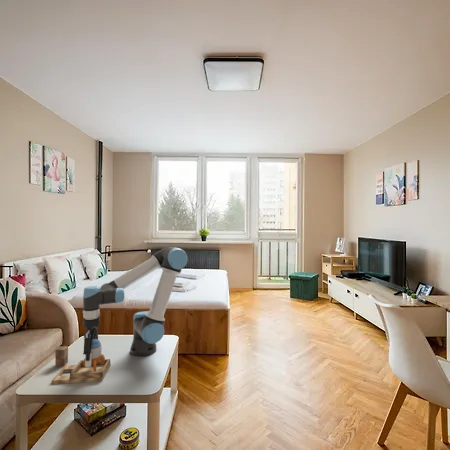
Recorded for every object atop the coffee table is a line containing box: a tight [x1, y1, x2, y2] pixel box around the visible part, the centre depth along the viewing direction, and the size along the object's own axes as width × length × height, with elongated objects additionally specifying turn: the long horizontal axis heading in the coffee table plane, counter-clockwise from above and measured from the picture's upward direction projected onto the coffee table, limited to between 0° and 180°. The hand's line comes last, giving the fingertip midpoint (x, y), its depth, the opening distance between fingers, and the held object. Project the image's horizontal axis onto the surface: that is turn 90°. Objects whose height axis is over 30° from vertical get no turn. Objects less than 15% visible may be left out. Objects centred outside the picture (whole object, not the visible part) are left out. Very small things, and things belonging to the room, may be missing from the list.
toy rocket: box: [83, 338, 106, 372], centre depth 147 cm, size 10×11×15 cm
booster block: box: [54, 345, 69, 368], centre depth 157 cm, size 4×4×9 cm
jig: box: [51, 358, 112, 385], centre depth 147 cm, size 23×15×4 cm, turn 97°
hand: (91, 362), depth 147 cm, fingers closed on toy rocket, 7 cm apart
